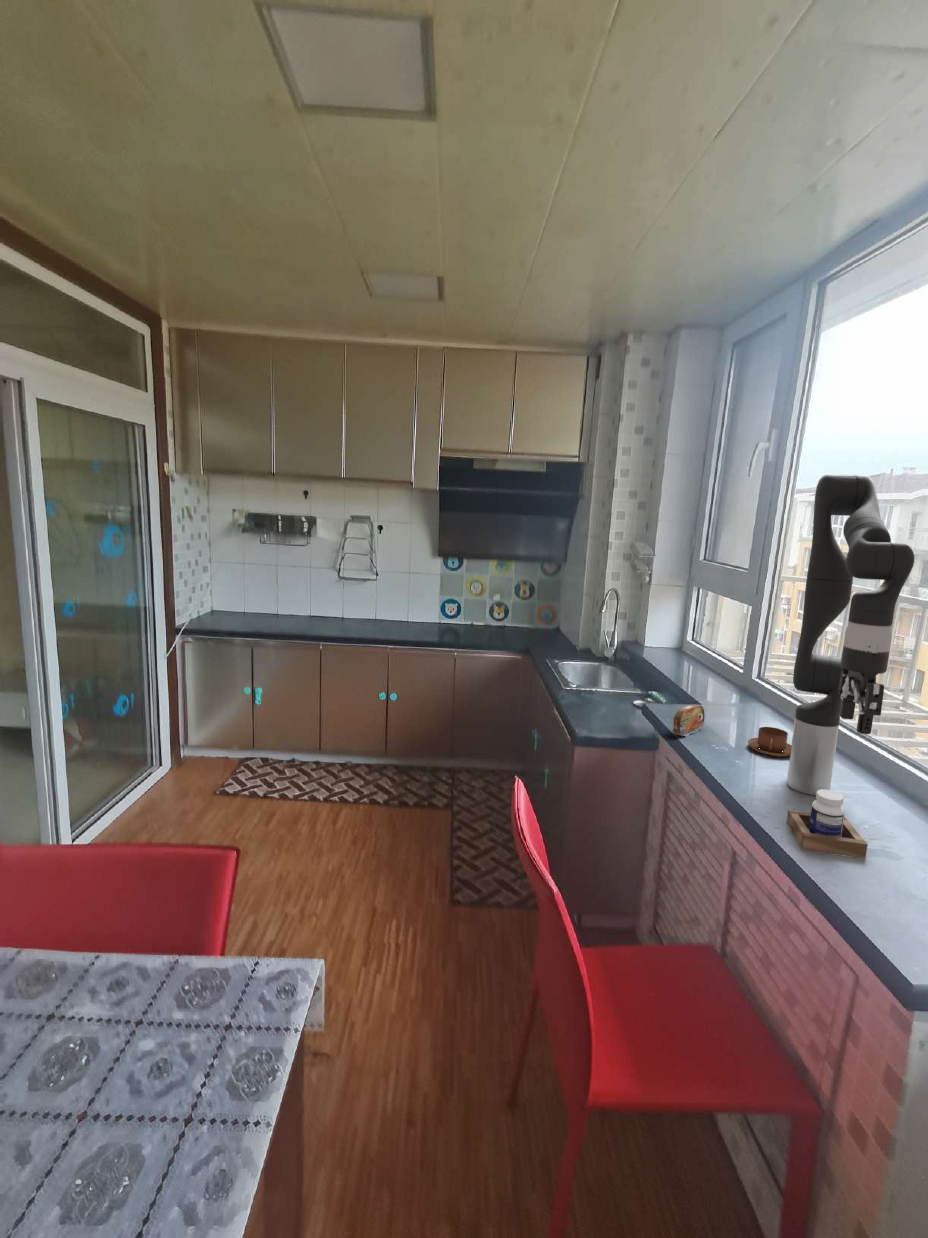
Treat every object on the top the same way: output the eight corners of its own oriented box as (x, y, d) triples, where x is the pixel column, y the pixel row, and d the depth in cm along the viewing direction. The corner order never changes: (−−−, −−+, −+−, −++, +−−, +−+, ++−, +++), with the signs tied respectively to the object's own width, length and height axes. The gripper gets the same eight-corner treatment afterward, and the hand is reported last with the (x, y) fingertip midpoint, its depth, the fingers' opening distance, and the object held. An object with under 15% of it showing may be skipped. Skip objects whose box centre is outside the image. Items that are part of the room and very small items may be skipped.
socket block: (786, 823, 127) (788, 810, 127) (843, 830, 125) (845, 817, 124) (803, 850, 117) (805, 836, 116) (865, 858, 114) (867, 844, 114)
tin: (679, 740, 175) (682, 712, 174) (670, 737, 178) (672, 710, 176) (704, 729, 185) (706, 703, 184) (694, 726, 187) (697, 701, 186)
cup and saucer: (801, 762, 161) (803, 741, 160) (754, 757, 164) (756, 736, 163) (786, 746, 173) (789, 726, 172) (742, 742, 175) (745, 722, 174)
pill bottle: (810, 829, 125) (816, 785, 123) (842, 839, 121) (848, 794, 120) (805, 840, 121) (811, 794, 119) (837, 850, 117) (844, 803, 115)
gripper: (831, 637, 122) (821, 712, 125) (859, 652, 108) (847, 736, 111) (872, 640, 120) (861, 716, 123) (906, 655, 106) (892, 741, 109)
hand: (854, 725), depth 117 cm, fingers open, 8 cm apart
